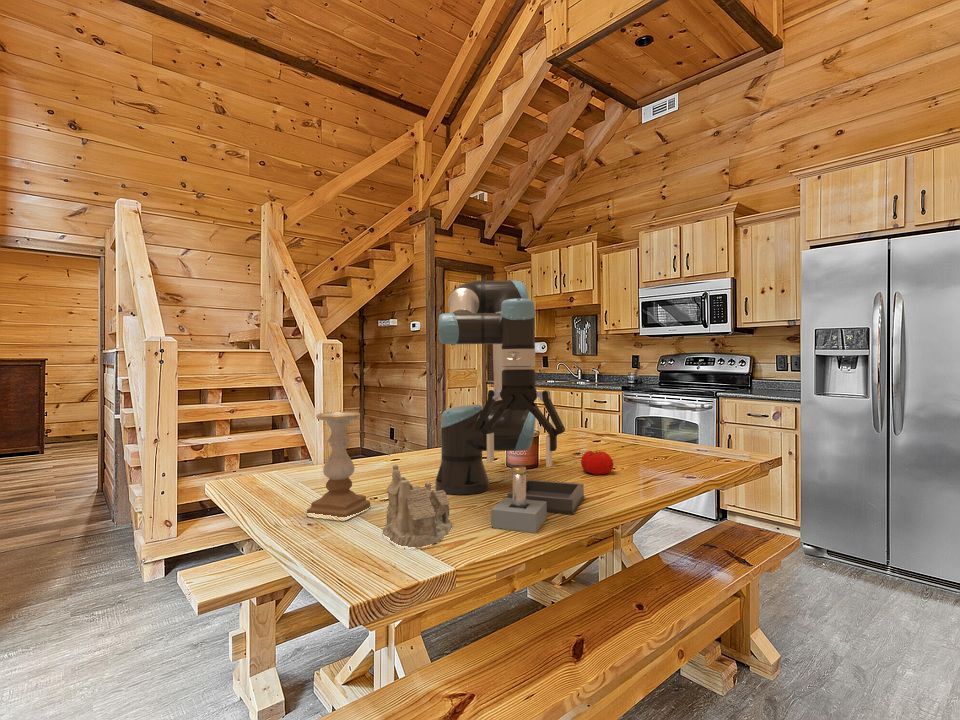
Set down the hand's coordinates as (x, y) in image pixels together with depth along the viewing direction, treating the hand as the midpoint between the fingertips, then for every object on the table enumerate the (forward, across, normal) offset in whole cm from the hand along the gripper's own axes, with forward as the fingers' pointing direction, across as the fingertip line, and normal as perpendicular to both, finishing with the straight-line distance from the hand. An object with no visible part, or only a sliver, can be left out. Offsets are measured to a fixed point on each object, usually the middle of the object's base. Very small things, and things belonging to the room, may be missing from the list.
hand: (519, 464), depth 113 cm
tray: (+13, +2, +18) cm, 23 cm away
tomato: (+13, +9, +57) cm, 59 cm away
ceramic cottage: (+14, -18, -13) cm, 26 cm away
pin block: (+13, 0, 0) cm, 13 cm away
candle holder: (+13, -43, -6) cm, 46 cm away
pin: (+13, 0, 0) cm, 13 cm away
